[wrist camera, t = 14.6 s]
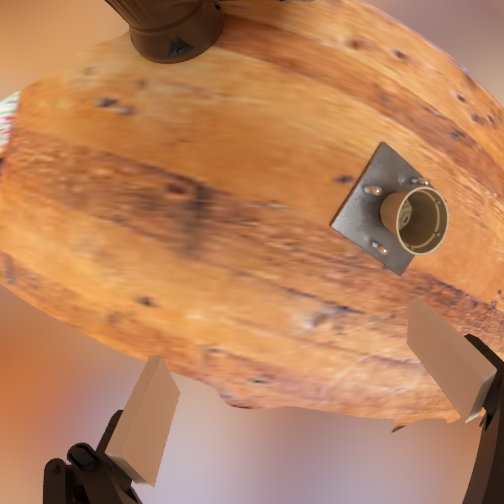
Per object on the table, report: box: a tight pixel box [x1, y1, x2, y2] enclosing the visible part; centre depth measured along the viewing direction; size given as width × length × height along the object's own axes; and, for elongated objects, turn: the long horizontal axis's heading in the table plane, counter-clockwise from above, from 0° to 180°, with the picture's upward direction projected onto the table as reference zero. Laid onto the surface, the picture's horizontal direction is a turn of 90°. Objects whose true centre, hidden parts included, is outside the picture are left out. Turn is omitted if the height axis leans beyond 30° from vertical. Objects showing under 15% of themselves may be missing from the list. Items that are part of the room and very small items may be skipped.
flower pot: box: [380, 186, 449, 255], centre depth 37 cm, size 9×9×9 cm
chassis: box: [329, 142, 447, 277], centre depth 39 cm, size 16×16×5 cm
